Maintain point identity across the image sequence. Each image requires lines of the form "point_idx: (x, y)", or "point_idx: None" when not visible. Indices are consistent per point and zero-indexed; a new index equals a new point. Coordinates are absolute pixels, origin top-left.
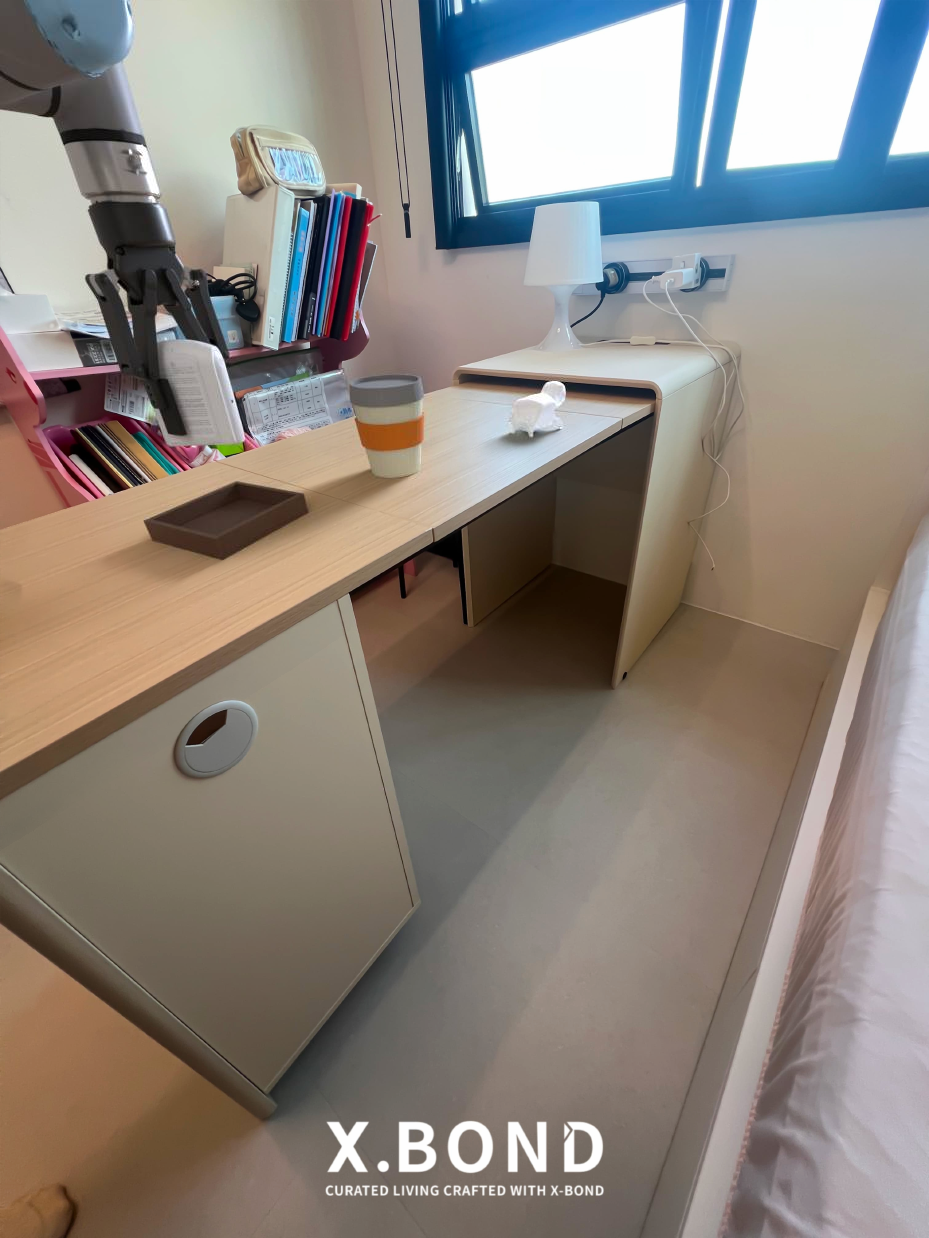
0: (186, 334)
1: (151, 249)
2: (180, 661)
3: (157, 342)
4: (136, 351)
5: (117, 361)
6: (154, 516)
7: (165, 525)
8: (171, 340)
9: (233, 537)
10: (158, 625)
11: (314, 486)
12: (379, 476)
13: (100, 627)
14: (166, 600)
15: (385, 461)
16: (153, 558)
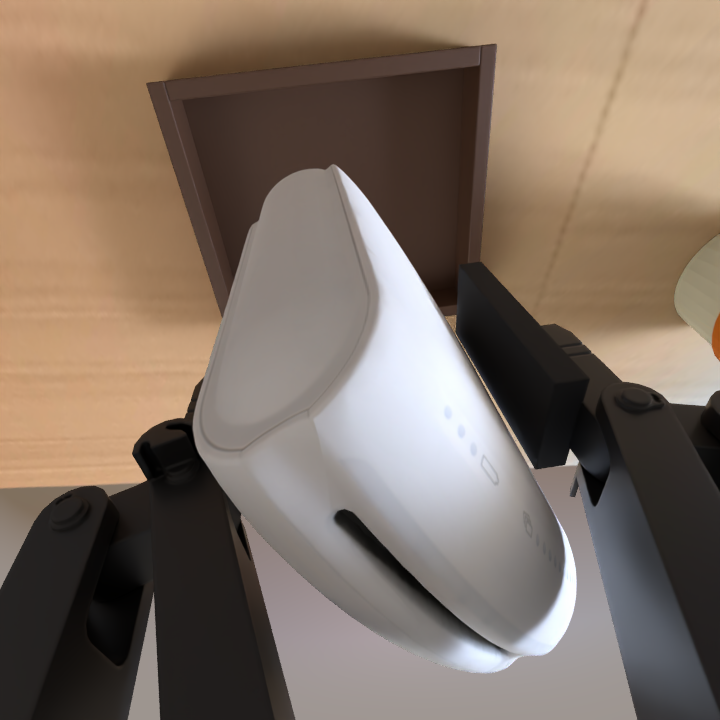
0: (654, 607)
1: None
2: (91, 476)
3: (369, 610)
4: (125, 692)
5: (7, 577)
6: (182, 86)
7: (183, 187)
8: (431, 655)
9: None
10: (85, 407)
11: (605, 176)
12: (681, 275)
13: (4, 353)
14: (112, 361)
15: (699, 316)
16: (137, 193)
